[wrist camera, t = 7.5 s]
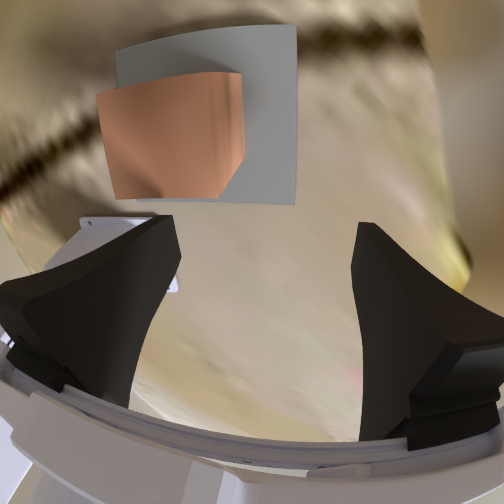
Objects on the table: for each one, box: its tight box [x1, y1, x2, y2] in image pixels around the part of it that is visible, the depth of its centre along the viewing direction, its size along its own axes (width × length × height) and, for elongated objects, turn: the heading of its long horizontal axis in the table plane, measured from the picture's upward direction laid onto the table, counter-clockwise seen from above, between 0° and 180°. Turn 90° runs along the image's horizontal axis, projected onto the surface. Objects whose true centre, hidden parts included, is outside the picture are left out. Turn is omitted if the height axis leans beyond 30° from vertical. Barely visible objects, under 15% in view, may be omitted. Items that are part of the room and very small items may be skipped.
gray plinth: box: [115, 25, 298, 205], centre depth 16 cm, size 11×11×2 cm
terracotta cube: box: [96, 72, 245, 200], centre depth 12 cm, size 5×5×6 cm
